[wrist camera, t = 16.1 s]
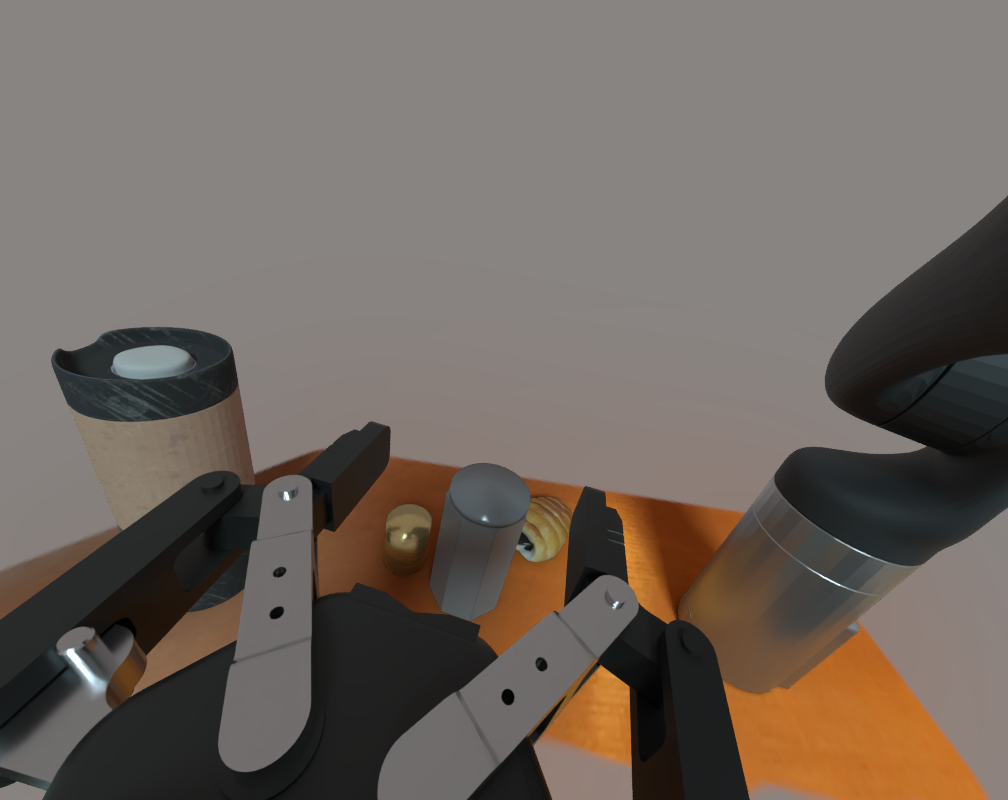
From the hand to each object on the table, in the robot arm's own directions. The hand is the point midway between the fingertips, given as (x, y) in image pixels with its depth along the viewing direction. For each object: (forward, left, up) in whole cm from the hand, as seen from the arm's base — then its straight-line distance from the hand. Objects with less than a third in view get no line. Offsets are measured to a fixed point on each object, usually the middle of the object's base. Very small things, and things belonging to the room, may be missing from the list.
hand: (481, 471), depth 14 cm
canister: (0, -10, -22) cm, 25 cm away
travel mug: (+21, -4, -22) cm, 31 cm away
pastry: (-5, -19, -23) cm, 30 cm away
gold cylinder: (+7, -11, -22) cm, 26 cm away
